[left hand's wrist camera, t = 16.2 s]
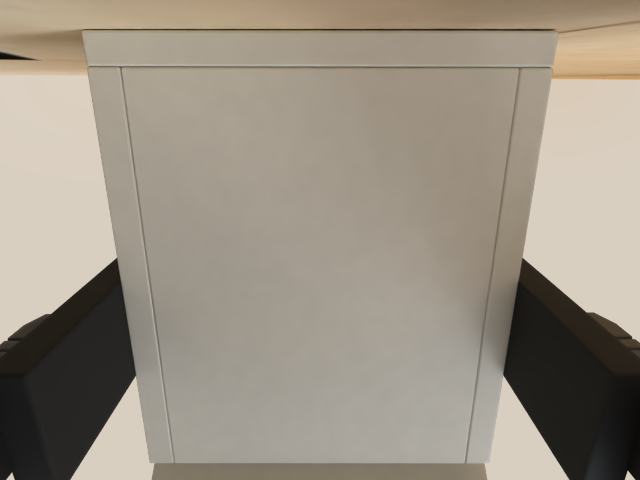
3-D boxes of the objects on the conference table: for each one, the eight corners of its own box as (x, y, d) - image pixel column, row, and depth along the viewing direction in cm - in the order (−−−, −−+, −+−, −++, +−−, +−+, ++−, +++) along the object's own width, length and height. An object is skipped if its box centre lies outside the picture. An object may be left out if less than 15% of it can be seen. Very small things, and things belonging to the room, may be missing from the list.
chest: (409, 73, 23) (397, 265, 27) (230, 73, 23) (242, 265, 27) (560, 30, 9) (489, 464, 12) (79, 29, 9) (149, 463, 12)
